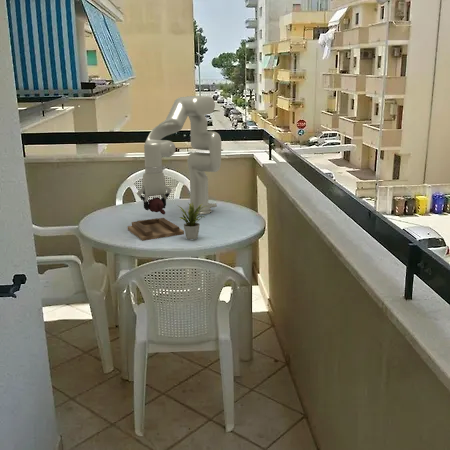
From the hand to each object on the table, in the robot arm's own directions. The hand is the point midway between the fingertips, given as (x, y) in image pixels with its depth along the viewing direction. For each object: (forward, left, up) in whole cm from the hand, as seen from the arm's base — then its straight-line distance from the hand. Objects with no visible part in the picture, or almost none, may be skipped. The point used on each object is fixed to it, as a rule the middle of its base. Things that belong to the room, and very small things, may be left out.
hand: (155, 208), depth 231 cm
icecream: (0, +1, -2) cm, 2 cm away
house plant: (-11, +17, -12) cm, 24 cm away
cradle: (0, -1, -11) cm, 11 cm away
